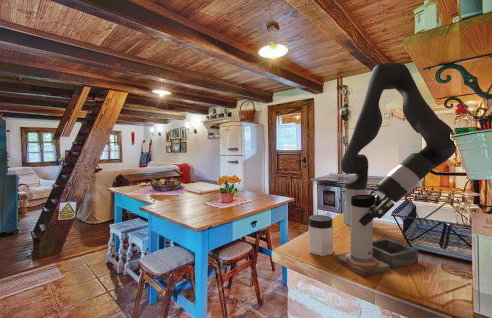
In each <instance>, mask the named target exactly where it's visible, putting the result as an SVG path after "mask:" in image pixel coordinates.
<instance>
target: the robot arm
mask: <svg viewBox="0 0 492 318" xmlns="http://www.w3.org/2000/svg"><path fill="white" fill-rule="evenodd" d="M368 79H369V80H368V84H367V88H366V92H365V97H364V100H363V104H362V107H361V110H360V112H359V116H358V117H357V120H356V124H355V127H354V129H353V133H352V136H351V138H350V141H349V143H348V145H347V148H346V149H345V152H344V154H343V157H342V159H341V163H340V168H341V171H342V172H343V174H345V175H355V176H354V177H353V178H351V179H350V180H346V181H345V183H344V200H345V201H344V203H343V223H344V224H345V225H346V226H350V227H351V197H352V196H355V195H374V198H373V202H372V203H371V205H370V207H371V208H370V210H369V213H368V212H367V213H366V214H365V215H364V216H363V217H362V218H361V219H360V220H359V222H360V223H361V224H362V225H363V226H366V225H367V224H368V223H369V222H370V221H372V220H373V221H374V219H378V220H380V219H382V218H383V217H384V216H385V215H386V214H387V213H388V212H389V211H390V210H391V209H393V208H394V207H395V205H396V204H395V203H398V202H400V200H401V199H403V198H404V197H405V196H406V195H407V194H409V192H411V191H412V190H413V189H414V188H415V187H416V186H417V185H418V184H419V183H420V182H421V180H423V179H424V178H425V177H426V176H427V175H429V173H430V172H431V171H432V170H434V169H436V168H437V167H439V166H441V165H443V163H446V162H447V161H448V160H449V159H451V157H452V156H453V155H454V154H455V153H456V150H457V145H456V146H455V144H454V141H452V140H451V139H450V132H453V131H454V130H453V129H452V127H451V126H450V125H448V124H447V123H446V122H445V121H444V120H442V119H440V118H439V117H438V115H437V113H436V112H435V111H434V110H433V108H432V107H431V106H430V105H429V104H428V102H427V101H426V100H425V98H424V97H423V95H422V94H421V92H420V90H419V87H418V86H417V84H416V81H415V80H414V77H413V75H412V73H411V71H410V69H409V68H408V66H407V65H406V64H404V63H403V62H383V63H382V62H381V63H378V64H376V65H375V66H374V67H373V69H372V71H371V74H370V76H369V78H368ZM385 90H396V91H397V92H398V93H399V94H400V95H401V96H402V113H403V116H404V118H405V119H406V121H407V122H408V123H409V125H410V126H411V128H412V129H413V130H414V132H416V133H417V134H419V135H420V136H421V137H422V138H423V140H424V141H425V146H424V147H423V148H422V149H421V150H420V151H419V152H412V153H411V154H410V155H408V156H406V158H404V160H403V161H402V162H401V163H400V164H398V165H397V166H395V167H394V168H393V169H391V170H390V171H389V172H388V173H387V174H386V175H385V176H384V177H382V178H381V179H380V180H379V181H378V182H377V183H376V184H375V185H376V188H377V191H374V190H373V189H372V190H370V191H369V192H368V193H367V185H368V181H369V180H368V178H369V159H368V156H366V155H365V154H363V153H361V154H360V152H361V151H362V150H363V149H364V148H366V147H367V146H368V145H369V144H370V143H371V142H373V141H374V140H375V139H376V137H377V136H378V134H379V131H380V129H381V127H382V124H383V115H382V112H381V109H380V108H381V107H380V99H381V97H382V94H383V92H384V91H385Z"/></svg>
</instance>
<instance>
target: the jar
mask: <svg viewBox="0 0 492 318" xmlns="http://www.w3.org/2000/svg"><path fill="white" fill-rule="evenodd" d="M307 222H308V250H309V253H310V254H312V255H317V256H319V255H320V257H325V256H330V255H333V254H334V247H333V246H334V227H333V218H332V217H331V216H329V215H325V214H313V215H309V216H308V221H307Z"/></svg>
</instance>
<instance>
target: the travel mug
mask: <svg viewBox="0 0 492 318" xmlns="http://www.w3.org/2000/svg"><path fill="white" fill-rule="evenodd" d="M373 198H374V195H367V194H366V195H355V196H352V197H351V226H350V240H349V241H350V243H349V247H350V249H349V251H350V257H351V258H352V259H354V260H356V261H359V262H370V261H372V241H374V240H373V238H374V237H373V232H374V231H373V224H374V219H373V220H372V221H370V222H369V223H368V224H367V225H366V226H363V225H362V224H361V223H360V222H359V220H360V219H361V218H362V217H363V216H364V215H365V214H366V213H367V212H368V213H369V210H370V208H371V207H370V205H371V203H372V202H373Z"/></svg>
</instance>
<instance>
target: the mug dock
mask: <svg viewBox="0 0 492 318" xmlns="http://www.w3.org/2000/svg"><path fill="white" fill-rule="evenodd" d="M334 260H335V261H336V262H338V263H340V265H341V264H342V265H343V266H344V267H346V268H348V269H349V270H351V271H353V272H354V273H356V274H358V275H360V276H362V277H363V278H367V277H370V276H371V277H372V276H375V275H377V274H382V273H386V272H390V271H391V270H393V269H398V268H402V267H405V266H409V265H414V264H418V263H419V250H418V249H416V248H414V247H412V246H409V245H406V244H403V243H400V242H398V241H395V240H393V239H390V238H387V237H384V238H379V239H374V240H373V241H372V261H370V262H359V261H356V260H354V259H352V258H351V257H350V252H344V253H340V254H335V255H334Z"/></svg>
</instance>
